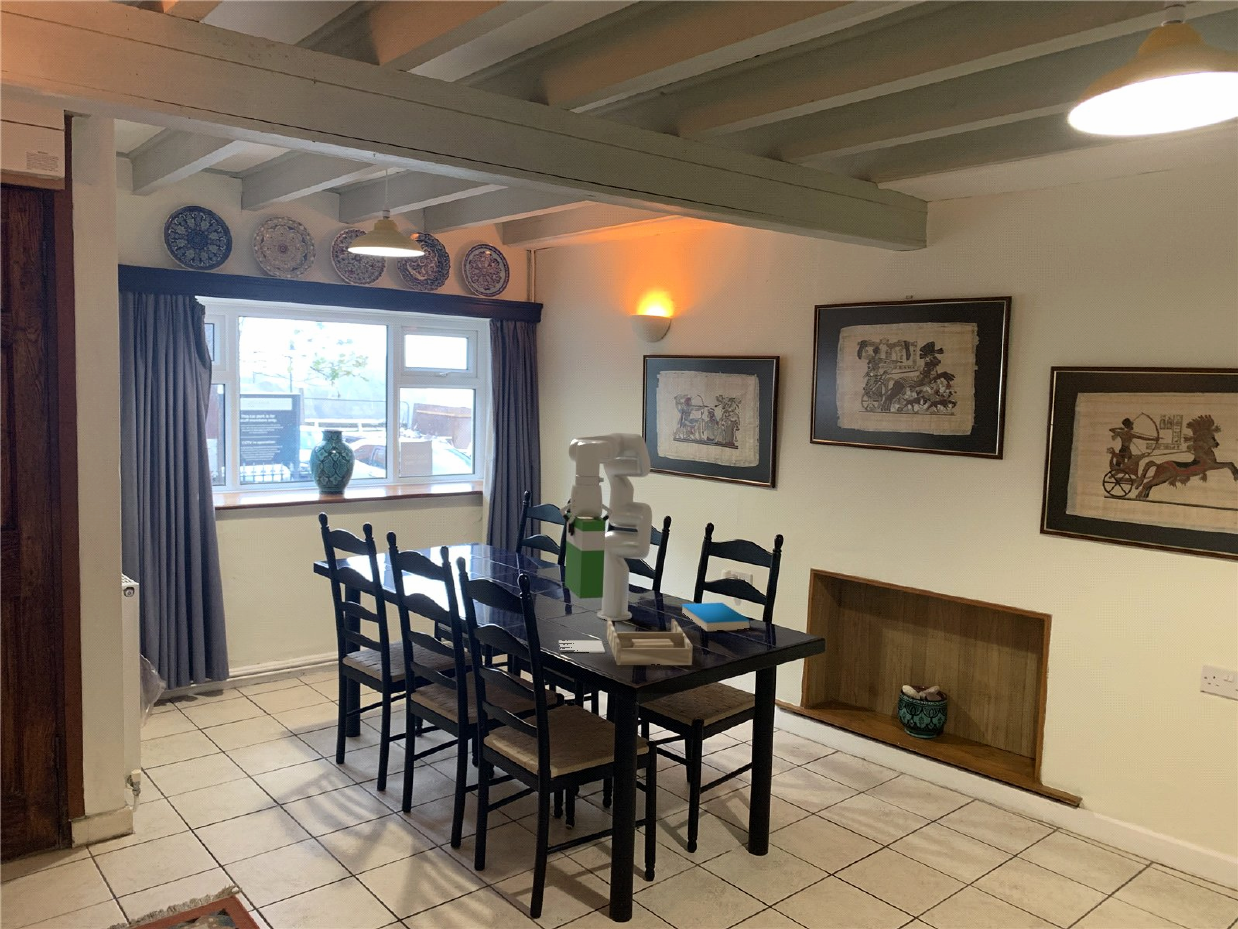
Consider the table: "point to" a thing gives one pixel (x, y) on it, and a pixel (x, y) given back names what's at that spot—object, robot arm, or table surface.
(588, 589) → the hardback book
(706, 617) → the book
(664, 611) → the table surface
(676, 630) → the rack
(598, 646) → the mat
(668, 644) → the oak offcut
